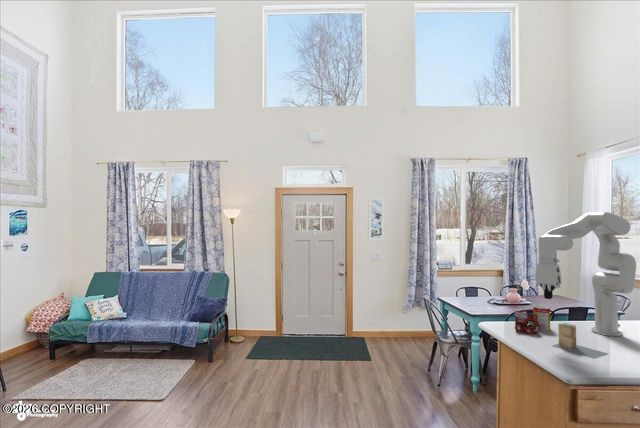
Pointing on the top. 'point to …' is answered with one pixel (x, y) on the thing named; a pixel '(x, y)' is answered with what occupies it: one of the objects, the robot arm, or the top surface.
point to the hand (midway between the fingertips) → (548, 298)
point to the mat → (583, 351)
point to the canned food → (542, 316)
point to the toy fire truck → (526, 323)
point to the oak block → (567, 335)
